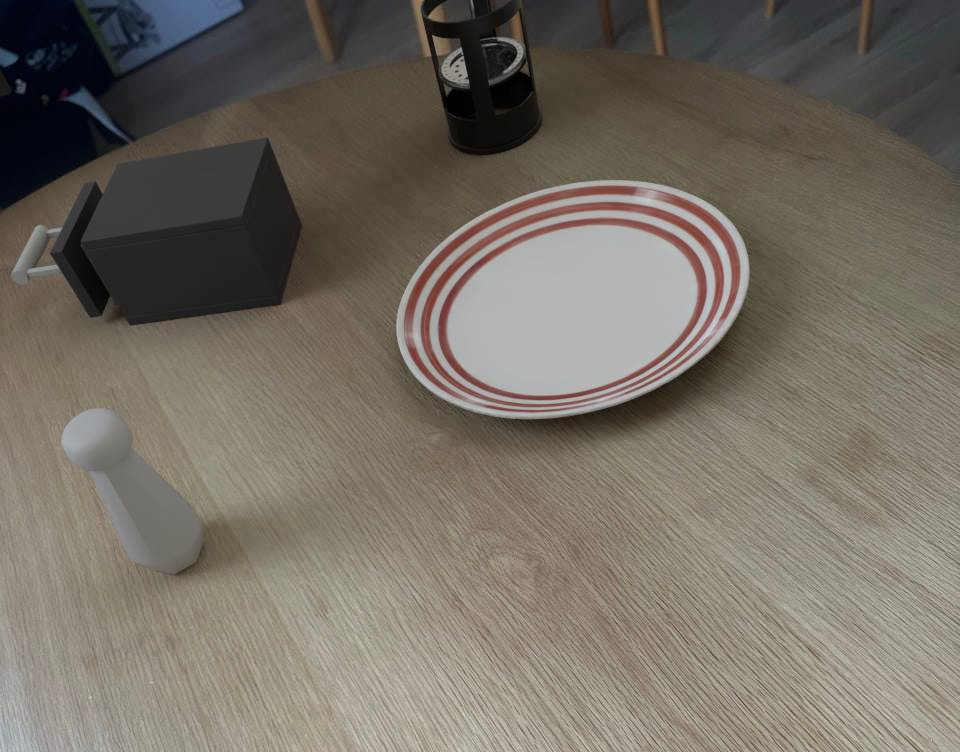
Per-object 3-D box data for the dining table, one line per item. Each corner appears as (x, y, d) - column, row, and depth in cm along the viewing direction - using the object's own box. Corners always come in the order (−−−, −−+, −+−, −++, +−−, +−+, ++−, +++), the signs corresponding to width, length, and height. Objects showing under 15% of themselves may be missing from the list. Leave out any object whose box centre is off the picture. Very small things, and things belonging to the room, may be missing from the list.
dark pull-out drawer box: (30, 326, 95) (-14, 263, 90) (63, 256, 101) (24, 193, 96) (226, 298, 91) (193, 230, 86) (249, 227, 97) (219, 159, 92)
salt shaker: (188, 590, 73) (96, 464, 63) (125, 577, 75) (26, 452, 65) (227, 529, 76) (145, 397, 65) (165, 517, 78) (76, 388, 67)
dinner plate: (543, 503, 71) (535, 469, 68) (344, 335, 86) (331, 303, 83) (828, 300, 76) (831, 261, 74) (593, 176, 92) (588, 141, 89)
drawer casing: (129, 325, 94) (79, 241, 87) (160, 247, 100) (116, 163, 93) (280, 304, 91) (241, 216, 84) (302, 225, 97) (267, 136, 90)
